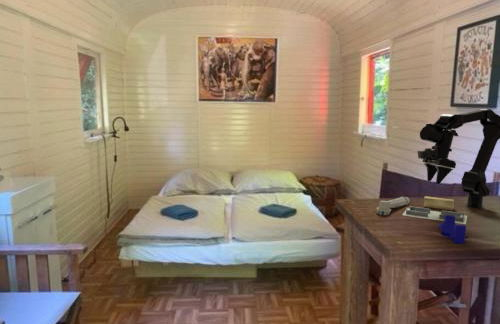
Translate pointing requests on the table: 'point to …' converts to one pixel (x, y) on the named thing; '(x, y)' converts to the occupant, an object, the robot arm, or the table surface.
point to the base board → (434, 216)
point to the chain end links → (425, 211)
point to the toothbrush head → (391, 205)
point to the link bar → (438, 203)
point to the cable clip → (453, 229)
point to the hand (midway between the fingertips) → (433, 182)
